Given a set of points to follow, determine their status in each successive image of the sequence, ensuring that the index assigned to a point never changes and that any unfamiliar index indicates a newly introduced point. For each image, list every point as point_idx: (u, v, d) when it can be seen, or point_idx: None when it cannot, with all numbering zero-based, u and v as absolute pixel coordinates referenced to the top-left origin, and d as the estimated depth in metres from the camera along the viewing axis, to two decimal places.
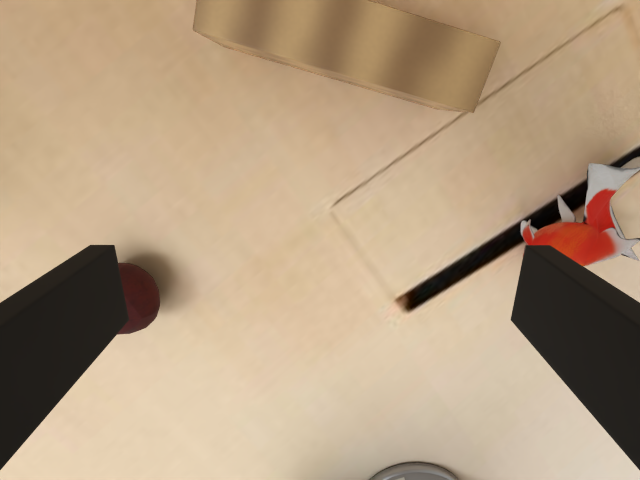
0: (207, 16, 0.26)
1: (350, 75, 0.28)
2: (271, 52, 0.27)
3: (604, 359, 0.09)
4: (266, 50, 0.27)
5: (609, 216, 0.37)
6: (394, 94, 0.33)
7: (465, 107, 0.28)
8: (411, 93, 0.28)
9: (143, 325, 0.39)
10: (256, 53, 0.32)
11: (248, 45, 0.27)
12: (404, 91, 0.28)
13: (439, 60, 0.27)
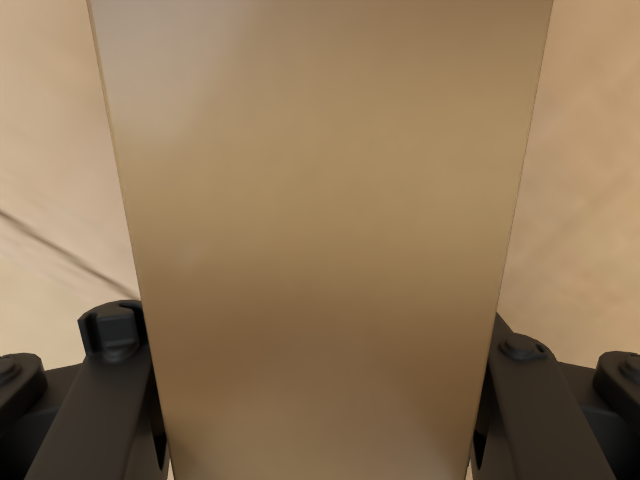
0: None
1: (106, 82, 0.04)
2: None
3: None
4: None
5: None
6: None
7: None
8: (165, 409, 0.06)
9: None
10: None
11: None
12: (159, 382, 0.06)
13: (331, 469, 0.06)
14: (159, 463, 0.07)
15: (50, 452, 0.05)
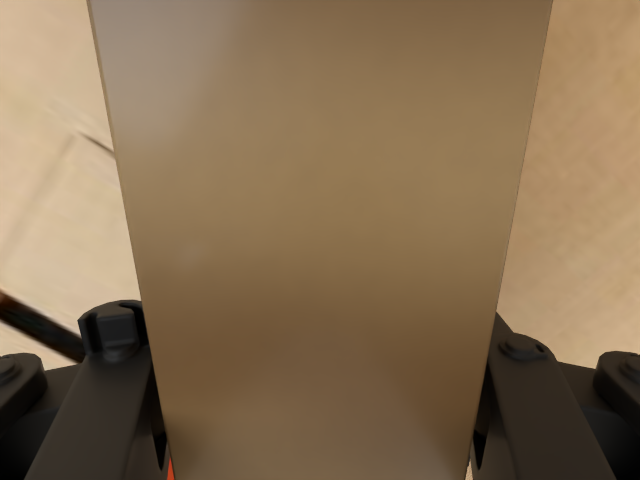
0: None
1: (106, 82, 0.04)
2: None
3: None
4: None
5: None
6: None
7: None
8: (165, 409, 0.06)
9: None
10: None
11: None
12: (159, 381, 0.06)
13: (331, 468, 0.06)
14: (159, 463, 0.07)
15: (50, 452, 0.05)
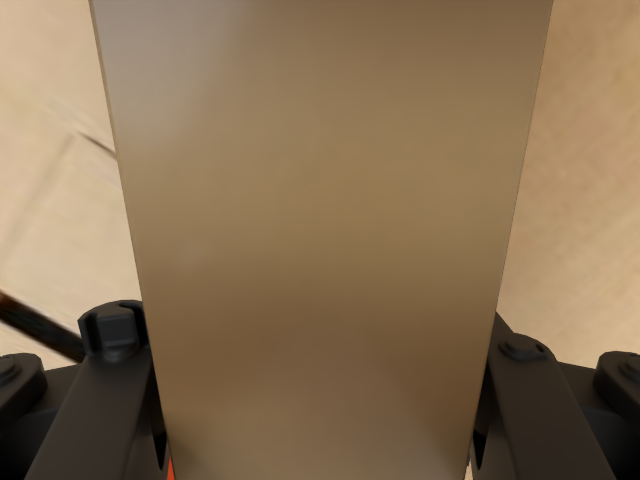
0: None
1: (107, 81, 0.04)
2: None
3: None
4: None
5: None
6: None
7: None
8: (165, 407, 0.06)
9: None
10: None
11: None
12: (159, 380, 0.06)
13: (330, 467, 0.06)
14: (159, 463, 0.07)
15: (50, 452, 0.05)
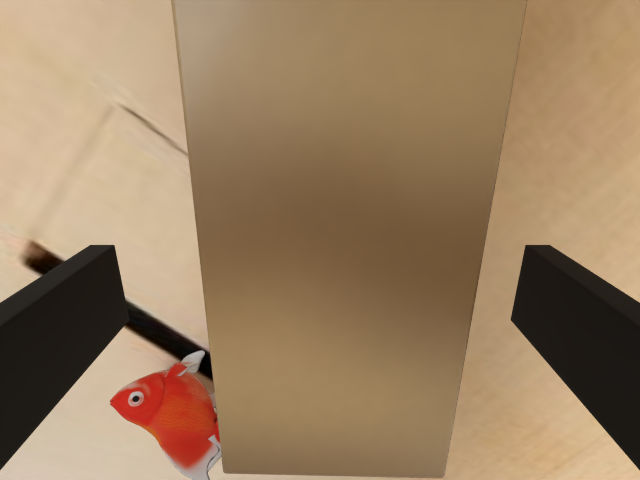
0: None
1: None
2: None
3: (604, 359, 0.09)
4: None
5: None
6: None
7: (228, 451, 0.08)
8: (205, 273, 0.07)
9: None
10: None
11: None
12: (201, 245, 0.07)
13: (347, 334, 0.07)
14: None
15: None
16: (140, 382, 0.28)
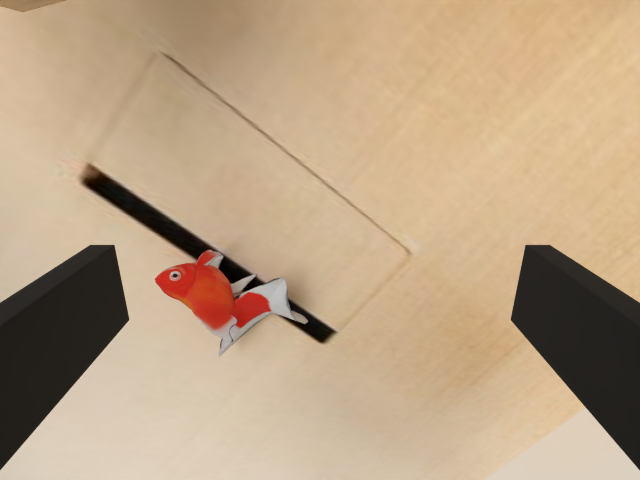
0: None
1: None
2: None
3: (604, 359, 0.09)
4: None
5: (249, 318, 0.41)
6: None
7: None
8: None
9: None
10: None
11: None
12: None
13: None
14: None
15: None
16: (177, 266, 0.37)
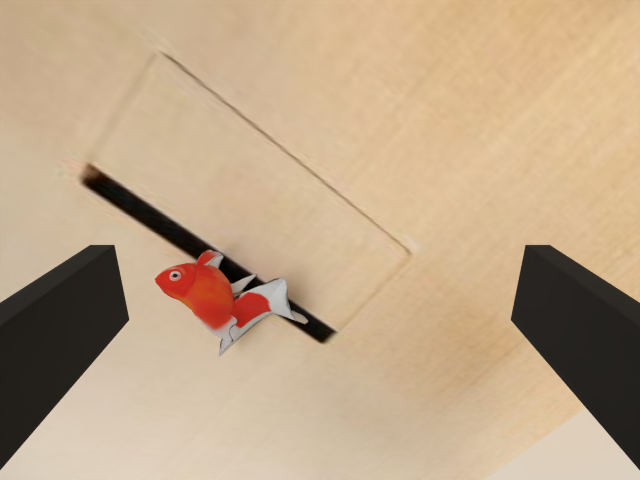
0: None
1: None
2: None
3: (604, 359, 0.09)
4: None
5: (249, 318, 0.41)
6: None
7: None
8: None
9: None
10: None
11: None
12: None
13: None
14: None
15: None
16: (177, 266, 0.37)
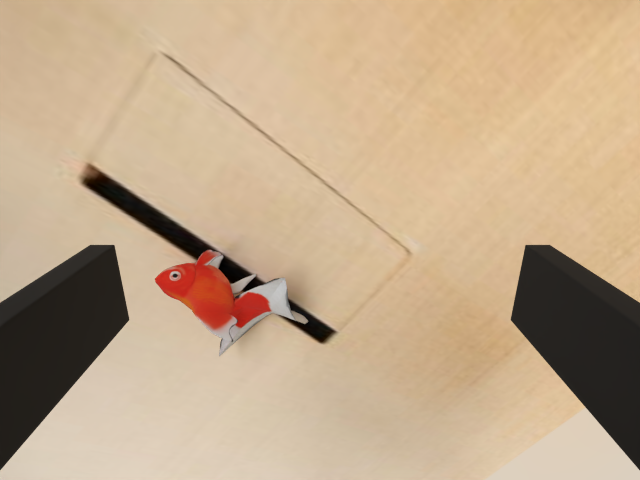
0: None
1: None
2: None
3: (604, 359, 0.09)
4: None
5: (249, 318, 0.41)
6: None
7: None
8: None
9: None
10: None
11: None
12: None
13: None
14: None
15: None
16: (177, 266, 0.37)
